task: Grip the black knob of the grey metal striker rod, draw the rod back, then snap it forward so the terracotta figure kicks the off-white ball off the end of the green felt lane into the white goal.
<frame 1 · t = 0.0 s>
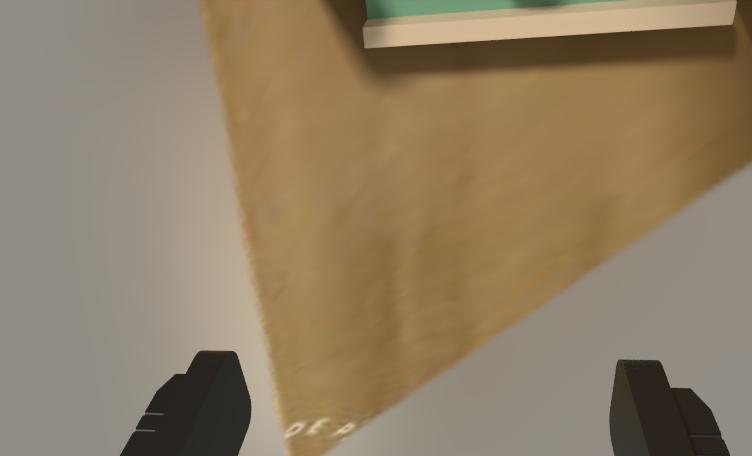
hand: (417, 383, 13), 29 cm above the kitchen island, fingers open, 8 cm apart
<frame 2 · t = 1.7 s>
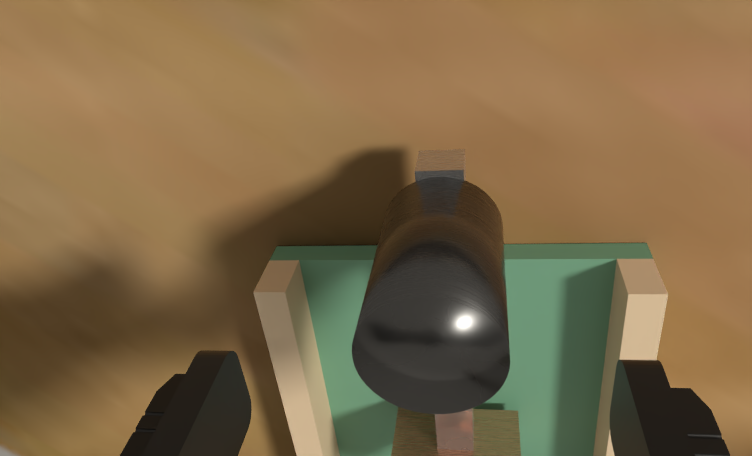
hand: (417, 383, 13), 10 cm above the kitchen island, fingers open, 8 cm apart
striker: (447, 392, 20), point 5 cm above the kitchen island, slide at 0.0 cm
pitch: (460, 423, 28), on the kitchen island
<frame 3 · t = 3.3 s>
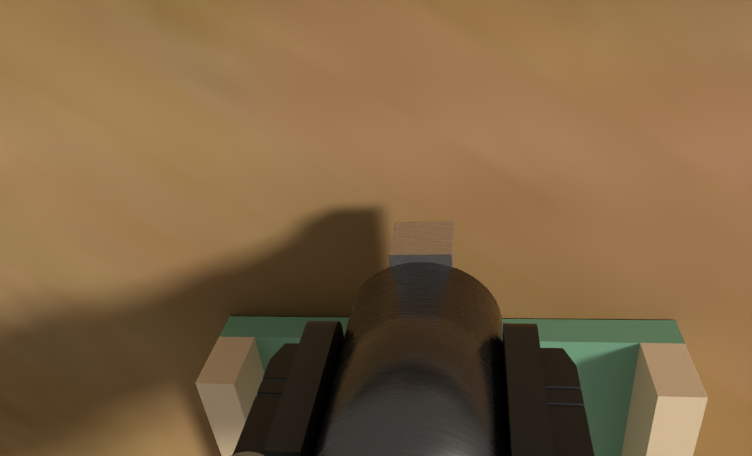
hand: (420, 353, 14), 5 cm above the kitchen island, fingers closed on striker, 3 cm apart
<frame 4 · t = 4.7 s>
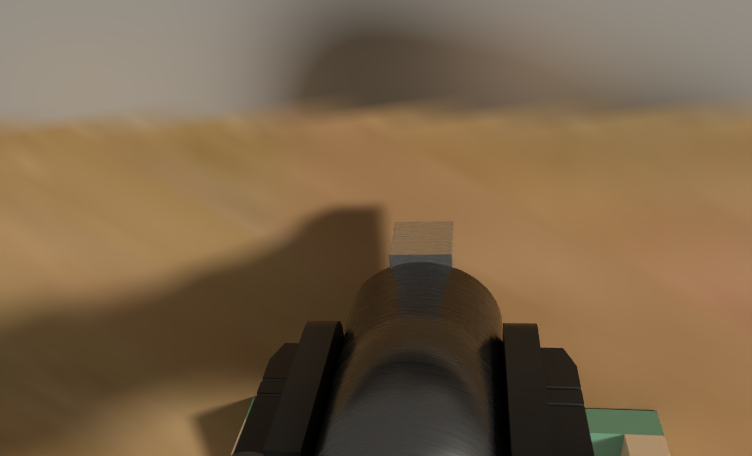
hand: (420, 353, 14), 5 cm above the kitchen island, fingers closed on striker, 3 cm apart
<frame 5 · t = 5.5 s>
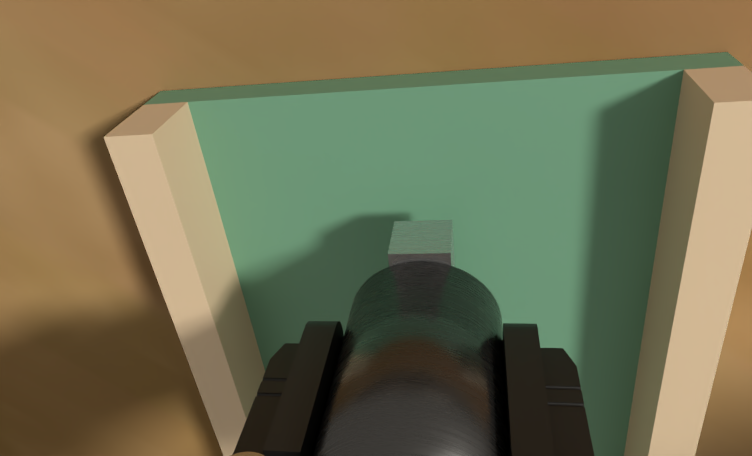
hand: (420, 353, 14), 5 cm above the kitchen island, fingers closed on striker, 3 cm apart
pitch: (443, 366, 20), on the kitchen island
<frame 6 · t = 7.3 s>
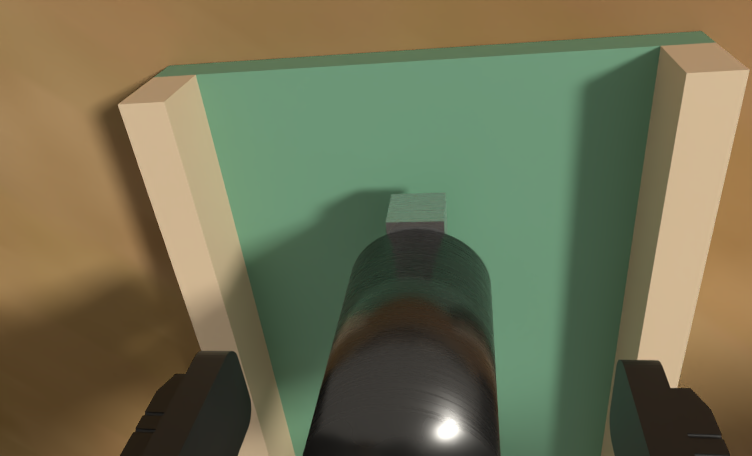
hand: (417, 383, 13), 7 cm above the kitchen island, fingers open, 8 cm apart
pitch: (435, 335, 21), on the kitchen island
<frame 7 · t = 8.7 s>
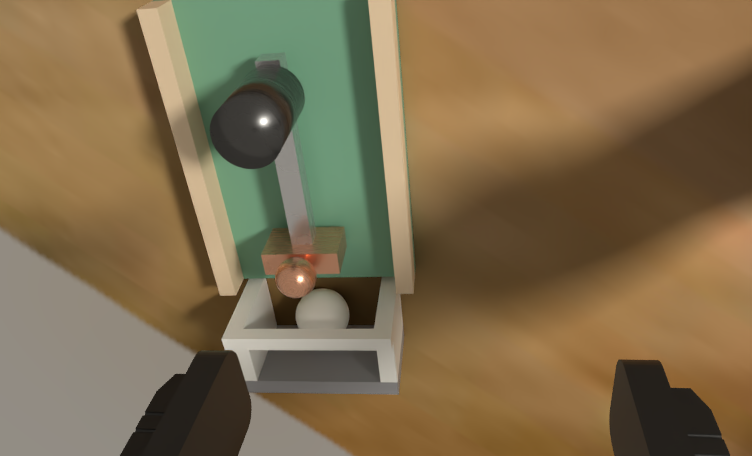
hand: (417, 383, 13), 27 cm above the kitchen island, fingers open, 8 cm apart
striker: (282, 190, 36), point 5 cm above the kitchen island, slide at 8.0 cm
goal: (327, 300, 47), on the kitchen island
pitch: (300, 147, 40), on the kitchen island
ball: (322, 315, 45), point 2 cm above the kitchen island, tilted 173°
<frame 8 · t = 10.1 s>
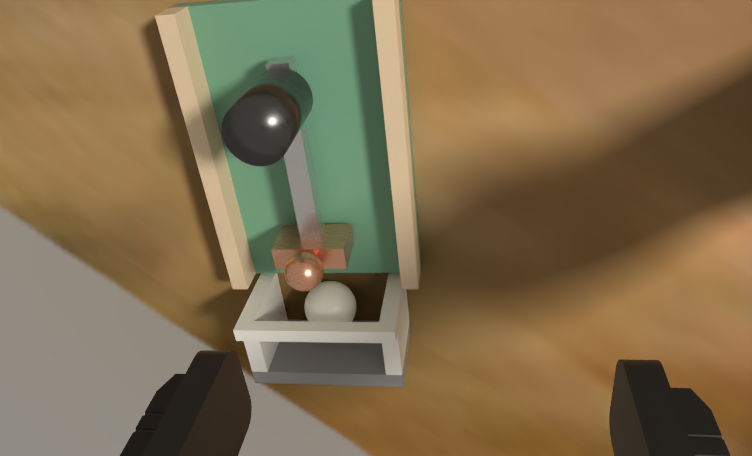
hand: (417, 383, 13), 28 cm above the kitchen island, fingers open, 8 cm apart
striker: (291, 187, 37), point 5 cm above the kitchen island, slide at 8.0 cm
goal: (336, 295, 49), on the kitchen island
pitch: (310, 147, 42), on the kitchen island
ball: (330, 306, 47), point 2 cm above the kitchen island, tilted 179°
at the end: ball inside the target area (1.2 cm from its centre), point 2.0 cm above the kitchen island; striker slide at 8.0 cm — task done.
